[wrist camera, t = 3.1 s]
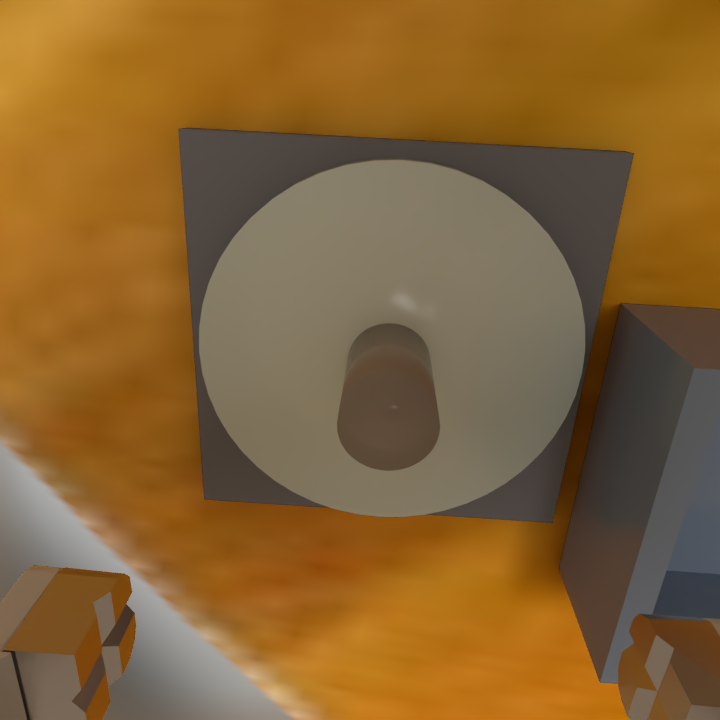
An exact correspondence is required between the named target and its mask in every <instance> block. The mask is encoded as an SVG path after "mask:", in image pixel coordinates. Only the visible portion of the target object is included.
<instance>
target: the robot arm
mask: <svg viewBox="0 0 720 720" xmlns="http://www.w3.org/2000/svg"><path fill="white" fill-rule="evenodd" d="M131 593H132V589H131V583H130V577H129V576H128V575H125V574H121V573H111V572H101V571H92V570H82V569H73V568H56V567H48V566H38V565H34V566H32V567H30V568H29V569H27V570H25V571H24V572H23V573H22V575H21V576H20V577H19V579H18V580H17V581H16V582H15V584H14V585H13V586H12V588H11V589H10V590H9V591H8V593H7V594H6V595H5V597H4V598H3V599H2V600H1V602H0V720H102V719H103V716H104V714H105V712H106V710H107V708H108V706H109V704H110V696H109V690H108V686H109V685H110V684H112V683H113V682H114V681H116V680H117V679H118V678H120V677H121V676H122V675H123V673H124V671H125V668H126V666H127V664H128V662H129V659H130V656H131V652H132V648H133V644H134V640H135V629H136V622H135V613H134V612H133V611H132V610H131V609H130V608H129V607H128V606H127V604H126V603H127V601H128V599H129V597H130V595H131ZM629 632H630V635H631V637H632V639H633V641H634V643H633V644H632V645H630V646H629V647H628V648H626V649H625V650H624V651H622V654H621V658H620V661H619V665H618V687H619V691H620V696H621V701H622V703H623V706H624V709H625V711H626V714H627V716H628V717H629V718H630V719H631V720H720V619H713V618H702V619H701V618H697V617H682V616H668V615H653V614H638V615H637V616H636V617H635V618H634V619H633V621H632V624H631V627H630V629H629Z"/></svg>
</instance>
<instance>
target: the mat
mask: <svg viewBox="0 0 720 720" xmlns="http://www.w3.org/2000/svg"><path fill="white" fill-rule="evenodd" d="M179 141H180V156H181V170H182V184H183V199H184V213H185V228H186V242H187V256H188V271H189V285H190V300H191V314H192V329H193V343H194V357H195V372H196V386H197V401H198V415H199V429H200V444H201V458H202V473H203V487H204V499H205V500H220V501H235V502H249V503H264V504H279V505H294V506H309V507H323V508H330V507H327V506H324V505H321V504H318V503H315V502H313V501H311V500H309V499H306V498H304V497H302V496H300V495H298V494H296V493H294V492H292V491H291V490H289V489H287V488H286V487H284V486H282V485H281V484H279V483H278V482H276V481H275V480H273V479H272V478H271V477H269V476H268V475H267V474H266V473H264V472H263V471H262V470H261V469H259V468H258V467H257V466H256V465H255V464H254V463H253V462H252V461H251V460H250V459H249V458H248V457H247V456H246V455H245V454H244V453H243V452H242V451H241V449H240V448H239V447H238V446H237V444H236V443H235V442H234V441H233V439H232V438H231V437H230V435H229V434H228V432H227V431H226V429H225V427H224V426H223V424H222V422H221V421H220V419H219V417H218V416H217V413H216V411H215V409H214V407H213V404H212V402H211V400H210V397H209V395H208V392H207V388H206V385H205V381H204V378H203V374H202V368H201V360H200V353H199V325H200V318H201V311H202V304H203V301H204V297H205V294H206V291H207V287H208V284H209V281H210V278H211V276H212V274H213V272H214V270H215V268H216V265H217V263H218V261H219V259H220V257H221V256H222V254H223V253H224V251H225V250H226V248H227V246H228V245H229V243H230V242H231V240H232V239H233V237H234V236H235V235H236V234H237V233H238V232H239V230H240V229H241V228H242V227H243V226H244V225H245V224H246V222H247V221H248V220H249V219H250V218H251V217H252V216H253V215H254V214H256V213H257V212H258V211H259V210H260V209H261V208H263V207H264V206H265V205H266V204H267V203H268V202H269V201H271V200H272V199H273V198H274V197H275V196H277V195H278V194H280V193H281V192H283V191H284V190H286V189H288V188H289V187H291V186H292V185H294V184H295V183H297V182H299V181H301V180H303V179H305V178H307V177H309V176H312V175H314V174H316V173H318V172H320V171H323V170H326V169H329V168H333V167H336V166H339V165H342V164H346V163H350V162H356V161H363V160H369V159H380V158H406V159H414V160H422V161H430V162H434V163H438V164H441V165H445V166H449V167H453V168H456V169H459V170H461V171H463V172H466V173H468V174H471V175H473V176H475V177H478V178H480V179H482V180H484V181H485V182H487V183H489V184H490V185H492V186H494V187H495V188H497V189H499V190H500V191H502V192H504V193H505V194H506V195H507V196H509V197H510V198H511V199H512V200H513V201H515V202H516V203H517V204H518V205H520V206H521V207H522V208H523V209H525V210H526V211H527V212H528V213H529V214H530V215H531V216H532V217H533V218H534V219H535V220H536V221H537V222H538V223H539V224H540V225H541V227H542V228H543V229H544V230H545V231H546V232H547V233H548V234H549V236H550V237H551V239H552V240H553V242H554V243H555V244H556V246H557V247H558V249H559V250H560V252H561V253H562V255H563V257H564V259H565V261H566V263H567V265H568V267H569V269H570V271H571V273H572V275H573V277H574V280H575V283H576V286H577V290H578V293H579V296H580V299H581V303H582V309H583V316H584V322H585V355H584V363H583V370H582V375H581V379H580V382H579V386H578V389H577V392H576V396H575V398H574V400H573V403H572V405H571V407H570V409H569V412H568V414H567V416H566V418H565V420H564V421H563V423H562V425H561V426H560V428H559V429H558V431H557V433H556V434H555V436H554V437H553V438H552V440H551V441H550V442H549V443H548V445H547V446H546V447H545V448H544V450H543V451H542V452H541V453H540V454H539V455H538V456H537V457H536V458H535V459H534V460H533V461H532V462H531V463H530V464H529V465H528V466H527V467H526V468H525V469H524V470H523V471H521V472H520V473H519V474H517V475H516V476H515V477H513V478H512V479H511V480H509V481H508V482H507V483H505V484H504V485H502V486H500V487H499V488H497V489H495V490H493V491H492V492H490V493H488V494H487V495H485V496H482V497H480V498H478V499H476V500H473V501H471V502H469V503H467V504H464V505H461V506H457V507H454V508H451V509H448V510H445V511H440V512H435V513H430V514H427V515H442V516H457V517H471V518H486V519H501V520H516V521H531V522H545V523H553V518H554V514H555V509H556V505H557V500H558V496H559V491H560V487H561V482H562V478H563V473H564V468H565V464H566V459H567V455H568V450H569V446H570V441H571V437H572V432H573V428H574V423H575V419H576V414H577V409H578V405H579V400H580V396H581V391H582V387H583V382H584V378H585V373H586V369H587V364H588V359H589V355H590V350H591V346H592V341H593V337H594V332H595V328H596V323H597V319H598V314H599V310H600V305H601V300H602V296H603V291H604V287H605V282H606V278H607V273H608V269H609V264H610V260H611V255H612V251H613V246H614V241H615V237H616V232H617V228H618V223H619V219H620V214H621V210H622V205H623V201H624V196H625V191H626V187H627V182H628V178H629V173H630V169H631V164H632V160H633V155H634V153H630V152H626V151H610V150H592V149H573V148H554V147H536V146H517V145H499V144H480V143H461V142H443V141H424V140H405V139H387V138H368V137H350V136H331V135H312V134H294V133H275V132H257V131H238V130H219V129H201V128H181V129H179Z"/></svg>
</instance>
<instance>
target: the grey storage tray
mask: <svg viewBox="0 0 720 720" xmlns="http://www.w3.org/2000/svg"><path fill="white" fill-rule="evenodd" d="M559 570H560V573H561V576H562V579H563V581H564V584H565V587H566V590H567V593H568V595H569V598H570V601H571V604H572V606H573V609H574V612H575V615H576V617H577V620H578V623H579V626H580V629H581V631H582V634H583V637H584V640H585V642H586V645H587V648H588V651H589V654H590V656H591V659H592V662H593V665H594V667H595V670H596V673H597V676H598V679H599V681H600V683H613V684H618V665H619V661H620V658H621V654H622V651H624V650H625V649H626V648H628V647H629V646H630V645H632V644H633V643H634V641H633V639H632V637H631V635H630V632H629V629H630V627H631V624H632V621H633V619H634V618H635V617H636V616H637V615H638V614H653V615H668V616H682V617H697V618H701V619H702V618H713V619H720V309H708V308H691V307H674V306H657V305H641V304H624V303H621V306H620V310H619V314H618V318H617V323H616V327H615V331H614V335H613V340H612V344H611V348H610V352H609V357H608V361H607V365H606V370H605V374H604V378H603V382H602V387H601V391H600V395H599V399H598V404H597V408H596V412H595V416H594V421H593V425H592V429H591V434H590V438H589V442H588V446H587V451H586V455H585V459H584V463H583V468H582V472H581V476H580V480H579V485H578V489H577V493H576V497H575V502H574V506H573V510H572V515H571V519H570V523H569V527H568V532H567V536H566V540H565V544H564V549H563V553H562V557H561V561H560V566H559Z"/></svg>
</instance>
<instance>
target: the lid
mask: <svg viewBox="0 0 720 720" xmlns="http://www.w3.org/2000/svg"><path fill="white" fill-rule="evenodd" d="M199 353H200V360H201V368H202V374H203V378H204V381H205V385H206V388H207V392H208V395H209V397H210V400H211V402H212V404H213V407H214V409H215V411H216V413H217V416H218V417H219V419H220V421H221V422H222V424H223V426H224V427H225V429H226V431H227V432H228V434H229V435H230V437H231V438H232V439H233V441H234V442H235V443H236V444H237V446H238V447H239V448H240V449H241V451H242V452H243V453H244V454H245V455H246V456H247V457H248V458H249V459H250V460H251V461H252V462H253V463H254V464H255V465H256V466H257V467H258V468H259V469H261V470H262V471H263V472H264V473H266V474H267V475H268V476H269V477H271V478H272V479H273V480H275V481H276V482H278V483H279V484H281V485H282V486H284V487H286V488H287V489H289V490H291V491H292V492H294V493H296V494H298V495H300V496H302V497H304V498H306V499H309V500H311V501H313V502H315V503H318V504H321V505H324V506H327V507H330V508H333V509H336V510H340V511H345V512H349V513H353V514H359V515H367V516H376V517H407V516H417V515H425V514H430V513H435V512H440V511H445V510H448V509H451V508H454V507H457V506H461V505H464V504H467V503H469V502H471V501H473V500H476V499H478V498H480V497H482V496H485V495H487V494H488V493H490V492H492V491H493V490H495V489H497V488H499V487H500V486H502V485H504V484H505V483H507V482H508V481H509V480H511V479H512V478H513V477H515V476H516V475H517V474H519V473H520V472H521V471H523V470H524V469H525V468H526V467H527V466H528V465H529V464H530V463H531V462H532V461H533V460H534V459H535V458H536V457H537V456H538V455H539V454H540V453H541V452H542V451H543V450H544V448H545V447H546V446H547V445H548V443H549V442H550V441H551V440H552V438H553V437H554V436H555V434H556V433H557V431H558V429H559V428H560V426H561V425H562V423H563V421H564V420H565V418H566V416H567V414H568V412H569V409H570V407H571V405H572V403H573V400H574V398H575V396H576V392H577V389H578V386H579V382H580V379H581V375H582V370H583V363H584V355H585V322H584V316H583V309H582V303H581V299H580V296H579V293H578V290H577V286H576V283H575V280H574V277H573V275H572V273H571V271H570V269H569V267H568V265H567V263H566V261H565V259H564V257H563V255H562V253H561V252H560V250H559V249H558V247H557V246H556V244H555V243H554V242H553V240H552V239H551V237H550V236H549V234H548V233H547V232H546V231H545V230H544V229H543V228H542V227H541V225H540V224H539V223H538V222H537V221H536V220H535V219H534V218H533V217H532V216H531V215H530V214H529V213H528V212H527V211H526V210H525V209H523V208H522V207H521V206H520V205H518V204H517V203H516V202H515V201H513V200H512V199H511V198H510V197H509V196H507V195H506V194H505V193H504V192H502V191H500V190H499V189H497V188H495V187H494V186H492V185H490V184H489V183H487V182H485V181H484V180H482V179H480V178H478V177H475V176H473V175H471V174H468V173H466V172H463V171H461V170H459V169H456V168H453V167H449V166H445V165H441V164H438V163H434V162H430V161H422V160H414V159H406V158H380V159H369V160H363V161H356V162H350V163H346V164H342V165H339V166H336V167H333V168H329V169H326V170H323V171H320V172H318V173H316V174H314V175H312V176H309V177H307V178H305V179H303V180H301V181H299V182H297V183H295V184H294V185H292V186H291V187H289V188H288V189H286V190H284V191H283V192H281V193H280V194H278V195H277V196H275V197H274V198H273V199H272V200H271V201H269V202H268V203H267V204H266V205H265V206H264V207H263V208H261V209H260V210H259V211H258V212H257V213H256V214H254V215H253V216H252V217H251V218H250V219H249V220H248V221H247V222H246V224H245V225H244V226H243V227H242V228H241V229H240V230H239V232H238V233H237V234H236V235H235V236H234V237H233V239H232V240H231V242H230V243H229V245H228V246H227V248H226V250H225V251H224V253H223V254H222V256H221V257H220V259H219V261H218V263H217V265H216V268H215V270H214V272H213V274H212V276H211V278H210V281H209V284H208V287H207V291H206V294H205V297H204V301H203V304H202V311H201V318H200V325H199Z"/></svg>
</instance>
